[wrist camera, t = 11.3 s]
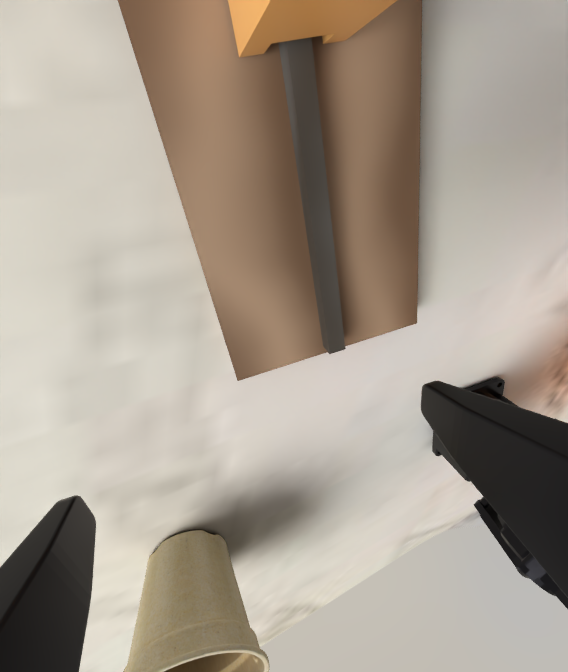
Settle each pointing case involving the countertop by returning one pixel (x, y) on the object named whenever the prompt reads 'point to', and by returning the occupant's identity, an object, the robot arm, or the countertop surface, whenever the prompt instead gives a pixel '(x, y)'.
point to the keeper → (298, 20)
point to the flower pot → (193, 612)
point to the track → (291, 173)
